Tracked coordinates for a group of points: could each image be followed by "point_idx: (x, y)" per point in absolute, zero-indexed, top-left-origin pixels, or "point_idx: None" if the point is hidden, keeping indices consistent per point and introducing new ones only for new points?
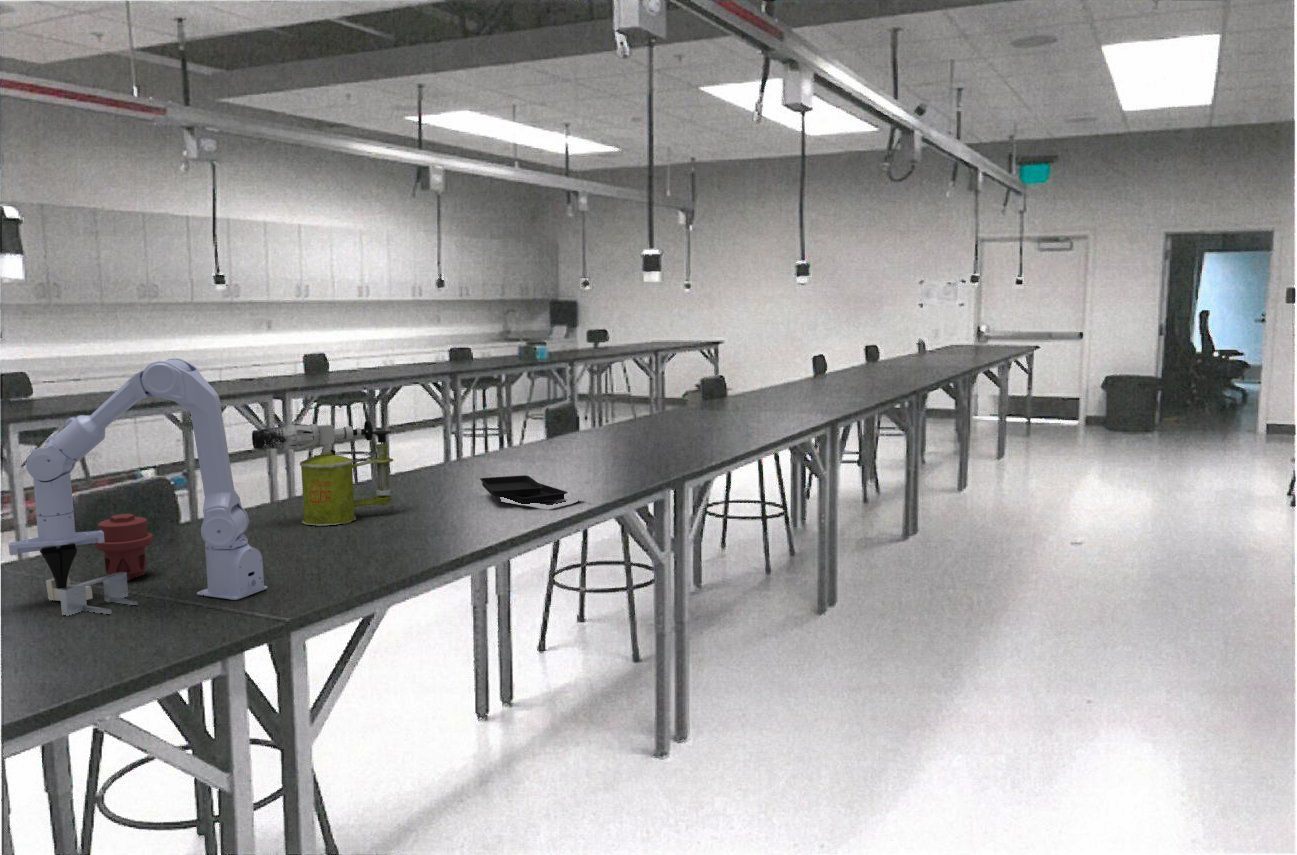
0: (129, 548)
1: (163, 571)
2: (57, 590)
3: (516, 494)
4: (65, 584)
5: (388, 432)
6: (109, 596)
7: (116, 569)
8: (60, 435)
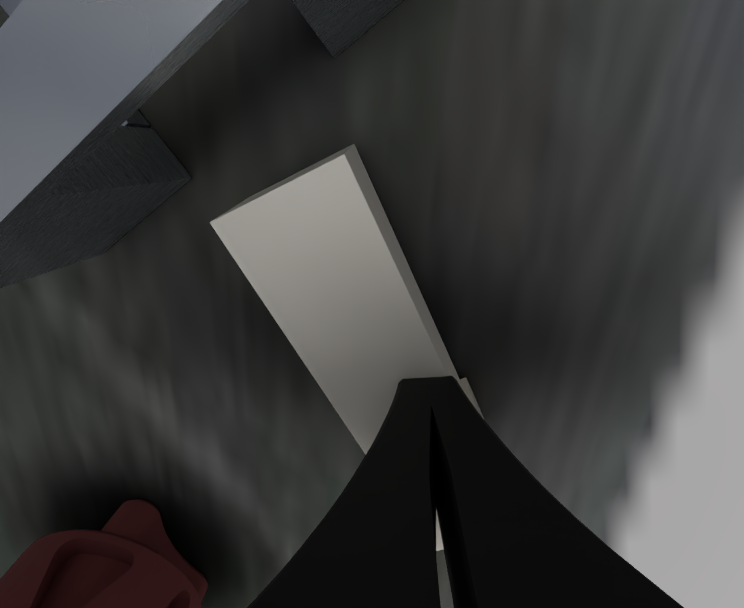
0: None
1: (8, 556)
2: None
3: None
4: (404, 386)
5: None
6: (125, 130)
7: (121, 577)
8: None
